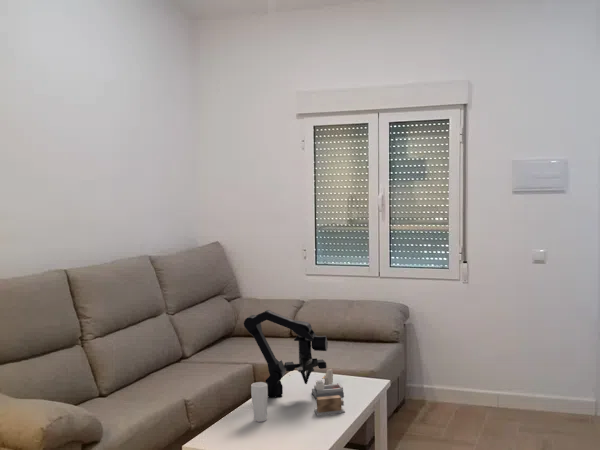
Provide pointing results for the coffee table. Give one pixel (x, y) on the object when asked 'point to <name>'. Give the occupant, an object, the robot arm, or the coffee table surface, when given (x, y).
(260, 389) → the drinking glass
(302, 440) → the coffee table surface
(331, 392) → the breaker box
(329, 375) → the architectural model
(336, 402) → the brown rectangular block
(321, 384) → the toggle
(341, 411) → the pad
